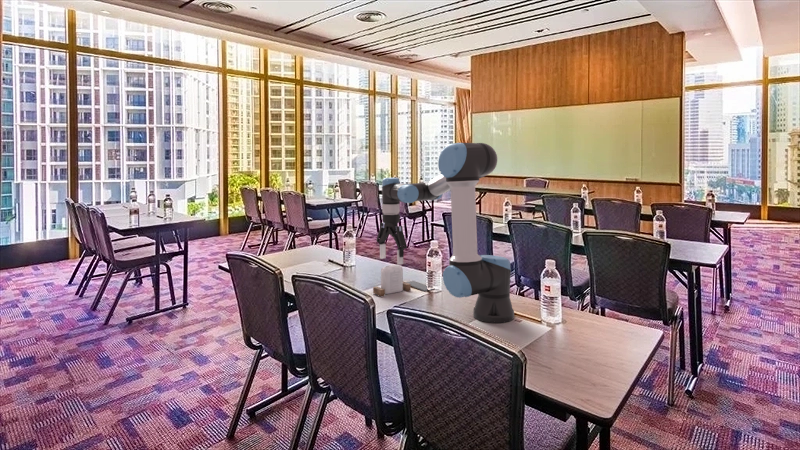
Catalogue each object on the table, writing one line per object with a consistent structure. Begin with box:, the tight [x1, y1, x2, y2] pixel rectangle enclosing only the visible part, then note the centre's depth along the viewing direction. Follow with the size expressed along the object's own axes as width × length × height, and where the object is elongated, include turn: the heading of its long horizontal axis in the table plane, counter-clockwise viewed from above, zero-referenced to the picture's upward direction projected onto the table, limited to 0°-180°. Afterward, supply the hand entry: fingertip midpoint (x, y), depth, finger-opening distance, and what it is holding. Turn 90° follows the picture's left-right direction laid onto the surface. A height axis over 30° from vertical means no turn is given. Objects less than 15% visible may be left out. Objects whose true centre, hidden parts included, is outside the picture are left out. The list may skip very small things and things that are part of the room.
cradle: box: [372, 281, 412, 297], centre depth 221 cm, size 6×16×3 cm, turn 126°
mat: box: [405, 280, 428, 292], centre depth 230 cm, size 16×6×1 cm, turn 36°
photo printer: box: [380, 264, 404, 295], centre depth 221 cm, size 10×4×12 cm, turn 123°
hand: (391, 261), depth 220 cm, fingers open, 13 cm apart
